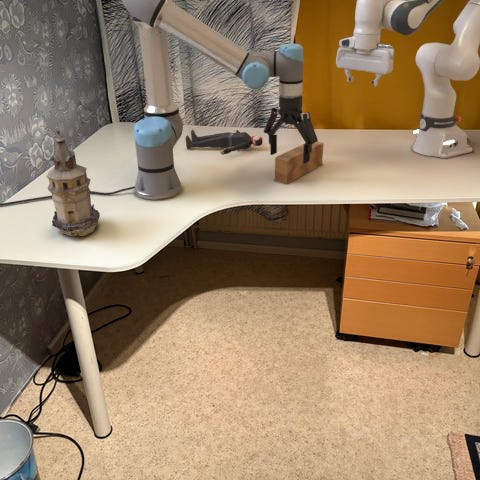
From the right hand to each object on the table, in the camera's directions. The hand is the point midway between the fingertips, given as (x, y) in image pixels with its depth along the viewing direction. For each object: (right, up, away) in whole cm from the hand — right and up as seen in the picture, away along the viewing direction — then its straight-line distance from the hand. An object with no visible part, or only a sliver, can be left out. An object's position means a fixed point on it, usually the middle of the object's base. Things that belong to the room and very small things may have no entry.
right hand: (362, 83), depth 186 cm
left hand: (-26, -26, -4) cm, 37 cm away
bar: (-21, -30, +5) cm, 37 cm away
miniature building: (-89, -51, -30) cm, 107 cm away
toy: (-48, -17, +28) cm, 58 cm away
